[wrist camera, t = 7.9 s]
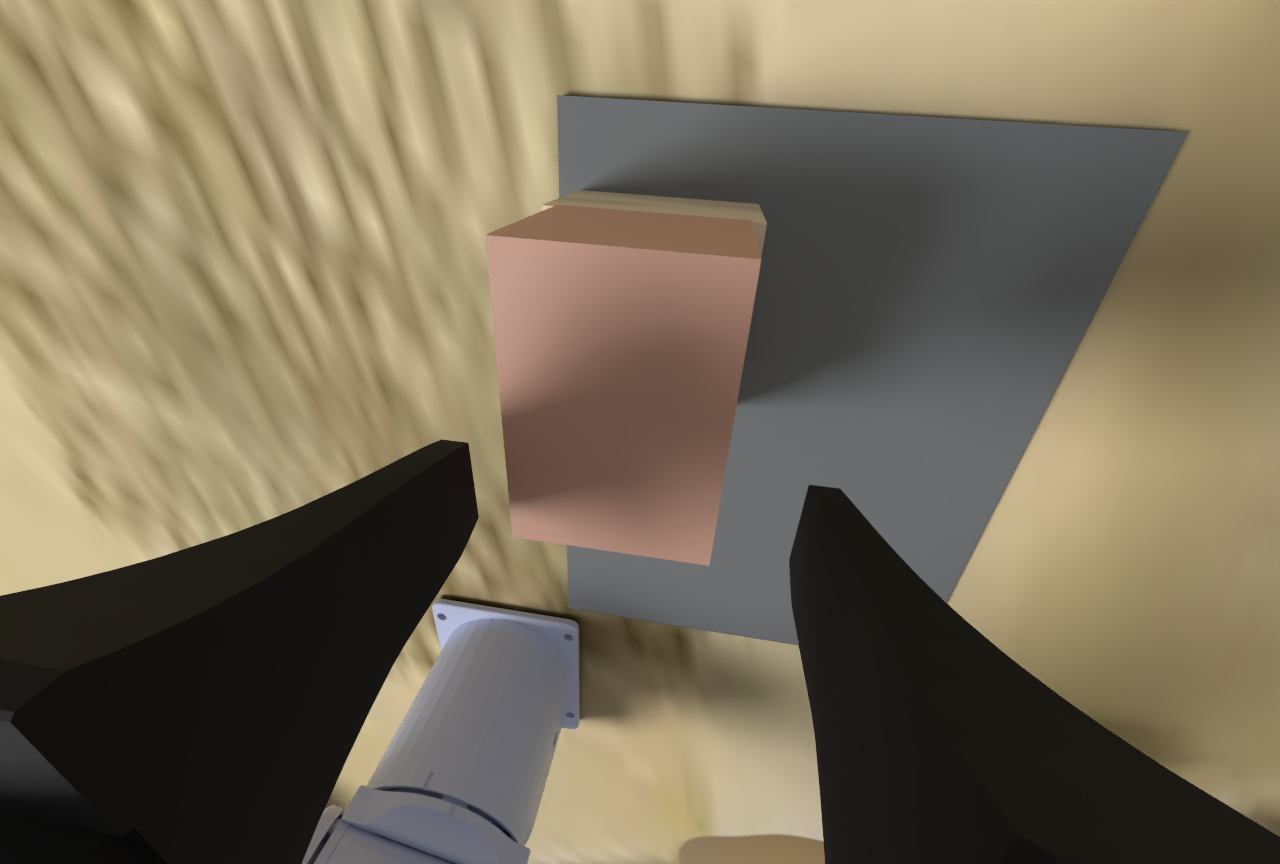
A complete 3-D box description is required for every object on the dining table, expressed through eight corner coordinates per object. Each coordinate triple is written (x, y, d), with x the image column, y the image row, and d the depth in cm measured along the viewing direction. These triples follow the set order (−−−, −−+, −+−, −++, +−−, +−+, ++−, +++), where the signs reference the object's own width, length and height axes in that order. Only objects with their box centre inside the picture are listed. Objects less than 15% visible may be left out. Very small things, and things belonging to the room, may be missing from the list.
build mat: (912, 656, 25) (915, 663, 25) (570, 602, 27) (568, 608, 26) (1176, 131, 14) (1187, 131, 14) (560, 95, 16) (557, 95, 15)
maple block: (726, 405, 19) (726, 464, 16) (581, 389, 20) (550, 442, 17) (758, 203, 16) (766, 223, 12) (580, 190, 16) (541, 205, 13)
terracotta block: (713, 461, 16) (709, 566, 12) (563, 442, 16) (512, 537, 13) (751, 220, 12) (761, 259, 9) (557, 204, 13) (485, 235, 9)
